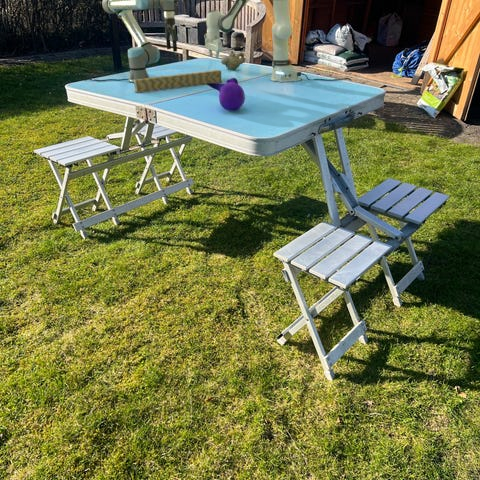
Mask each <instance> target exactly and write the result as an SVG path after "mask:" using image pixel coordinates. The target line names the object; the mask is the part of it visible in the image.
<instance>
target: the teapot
mask: <svg viewBox="0 0 480 480" xmlns="http://www.w3.org/2000/svg"><path fill="white" fill-rule="evenodd" d="M239 58H240V59H239ZM244 63H245V54H244V52H242V51H240V52H239V53H237V54H236V53H235V52H234V50H230V53H229V54H228V56H224V57H222V59H221V64H222V65H224V66H225V68H226V69H227V70H228V71H235V70H237V69H239V67H240V66H241V65H243V64H244Z"/></svg>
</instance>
